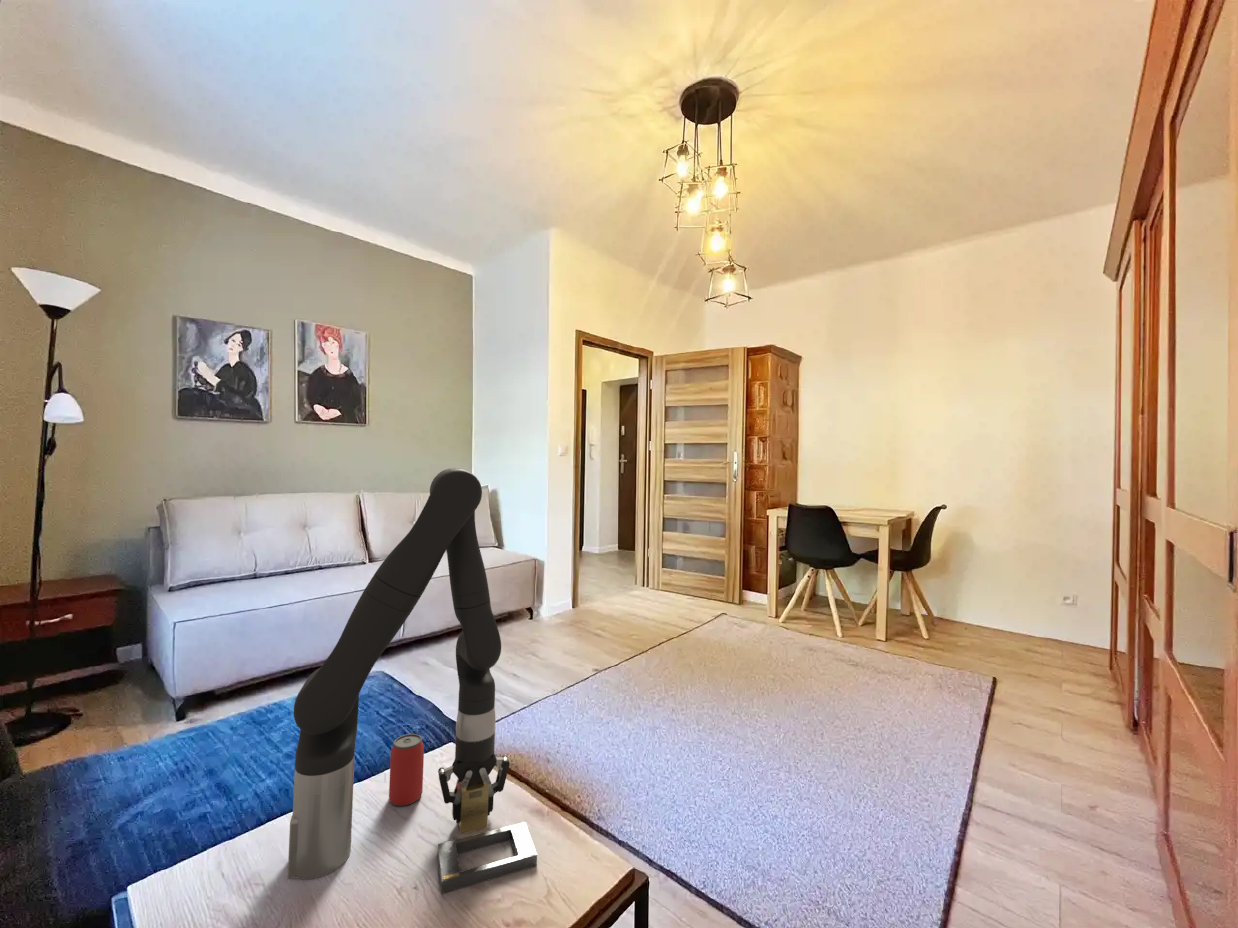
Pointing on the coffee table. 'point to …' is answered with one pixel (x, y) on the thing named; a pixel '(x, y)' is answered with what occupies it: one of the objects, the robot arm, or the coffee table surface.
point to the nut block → (474, 808)
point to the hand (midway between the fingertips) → (472, 816)
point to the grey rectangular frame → (456, 879)
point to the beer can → (406, 770)
